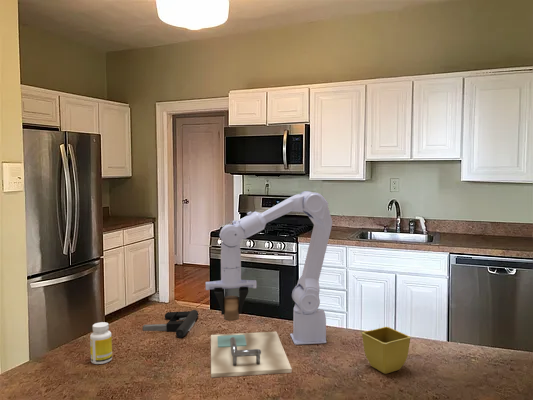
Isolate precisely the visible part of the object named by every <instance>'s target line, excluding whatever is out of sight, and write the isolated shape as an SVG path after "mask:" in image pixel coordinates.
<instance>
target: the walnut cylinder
mask: <svg viewBox="0 0 533 400" xmlns="http://www.w3.org/2000/svg"><path fill="white" fill-rule="evenodd" d="M223 307H224V315H223V320H225V321H226V322H227V321H230V322H233V321H238V320H239V319H240V314H239V295H226V296H223Z"/></svg>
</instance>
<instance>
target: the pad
mask: <svg viewBox="0 0 533 400" xmlns="http://www.w3.org/2000/svg"><path fill="white" fill-rule="evenodd" d="M232 337H234V338H235V339H236V345H237V346H247V345H246V340H245V335H228V336H218V348H219V347H231V346H230V339H231V338H232Z"/></svg>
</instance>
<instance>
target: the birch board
mask: <svg viewBox="0 0 533 400" xmlns="http://www.w3.org/2000/svg"><path fill="white" fill-rule="evenodd" d="M228 335H245V340H246V345H247V346H237V350H250V349H260V350H261V354H260V364H259V365H257V364H256V356H243V357H237V365H236V366H233V356H232V354H231V347H219V348H218V336H228ZM292 369H293V368H292V365H291V364H290V361H289V358H288V356H287V354H286V352H285V349H284V347H283V344H282V342H281V339H280V337H279V334H278V332H277V331H262V332H261V331H260V332H259V331H258V332H244V333H243V332H241V333H239V332H238V333H224V334H223V333H222V334H211V335H210V378H226V377H240V376H241V377H243V376H257V375H258V376H260V375H273V374H274V375H275V374H289V373H290V374H291V373H292Z"/></svg>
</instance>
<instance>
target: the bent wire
mask: <svg viewBox="0 0 533 400" xmlns="http://www.w3.org/2000/svg"><path fill="white" fill-rule="evenodd" d="M230 346H231V354H232V356H233V366H236V365H237V357H243V356H256V364H257V365H259V364H260V354H261V350H260V349H250V350H237V345H236V339H235V338H234V337H232V338H231V339H230Z"/></svg>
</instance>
